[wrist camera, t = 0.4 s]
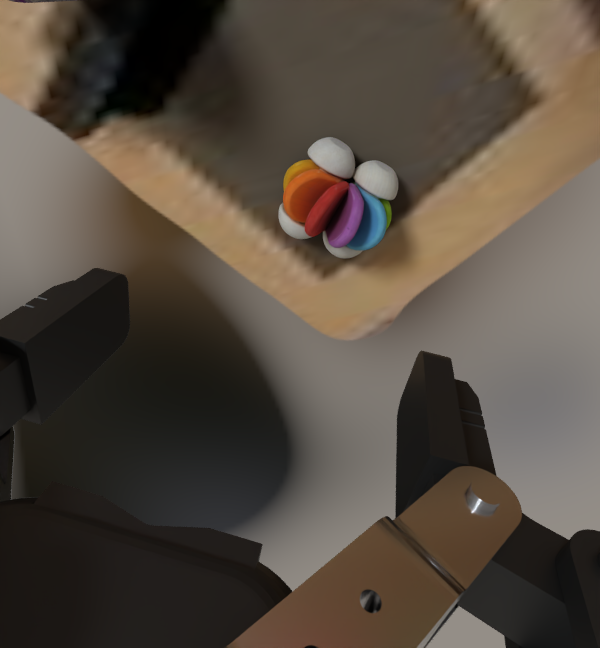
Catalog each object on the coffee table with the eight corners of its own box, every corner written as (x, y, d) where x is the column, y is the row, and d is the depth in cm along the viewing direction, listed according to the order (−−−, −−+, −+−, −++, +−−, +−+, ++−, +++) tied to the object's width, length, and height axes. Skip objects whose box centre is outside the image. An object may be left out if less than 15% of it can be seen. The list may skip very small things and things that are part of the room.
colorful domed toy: (308, 119, 35) (305, 145, 29) (411, 173, 37) (427, 207, 31) (267, 210, 40) (257, 248, 34) (360, 253, 42) (366, 295, 36)
